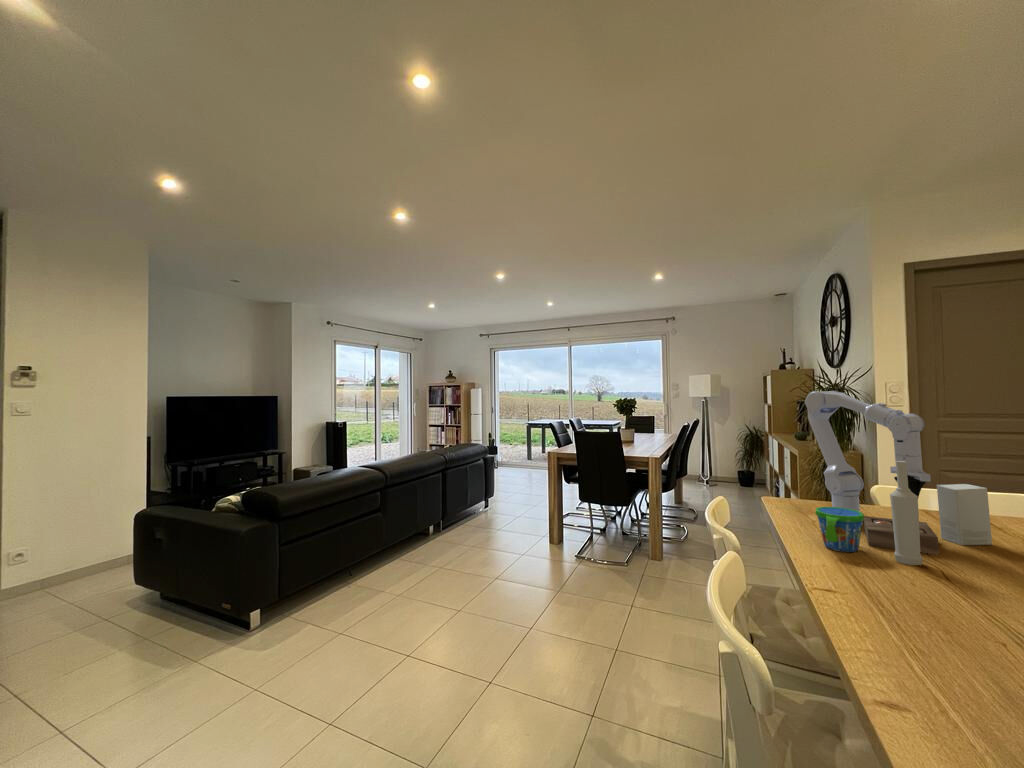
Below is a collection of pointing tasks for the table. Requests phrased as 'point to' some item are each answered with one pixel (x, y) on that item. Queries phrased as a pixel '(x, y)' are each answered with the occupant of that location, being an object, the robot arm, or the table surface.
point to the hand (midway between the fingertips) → (911, 502)
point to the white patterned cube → (882, 522)
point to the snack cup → (840, 528)
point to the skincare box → (964, 514)
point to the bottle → (905, 520)
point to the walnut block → (885, 535)
